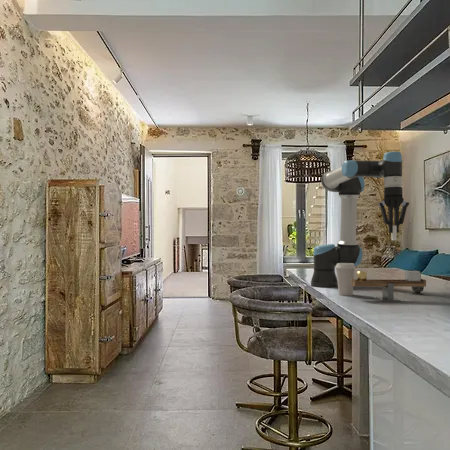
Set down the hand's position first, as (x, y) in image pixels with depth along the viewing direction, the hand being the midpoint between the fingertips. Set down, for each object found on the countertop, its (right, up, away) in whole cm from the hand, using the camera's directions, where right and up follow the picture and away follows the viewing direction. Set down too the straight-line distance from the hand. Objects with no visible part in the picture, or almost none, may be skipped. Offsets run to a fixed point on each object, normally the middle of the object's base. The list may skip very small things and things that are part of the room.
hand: (393, 240), depth 181 cm
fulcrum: (-3, -26, 0) cm, 27 cm away
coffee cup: (-16, -27, +17) cm, 36 cm away
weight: (-14, -19, +1) cm, 23 cm away
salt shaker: (+19, -27, +18) cm, 37 cm away
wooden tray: (-3, -20, 0) cm, 20 cm away
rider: (+8, -19, -1) cm, 20 cm away
